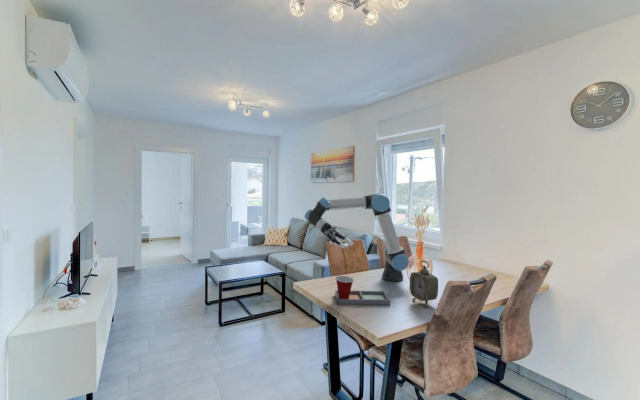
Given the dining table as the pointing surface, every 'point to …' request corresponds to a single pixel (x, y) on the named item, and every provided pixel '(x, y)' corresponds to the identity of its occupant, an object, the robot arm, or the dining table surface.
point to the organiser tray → (364, 298)
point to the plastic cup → (344, 286)
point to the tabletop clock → (423, 285)
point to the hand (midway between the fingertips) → (348, 246)
